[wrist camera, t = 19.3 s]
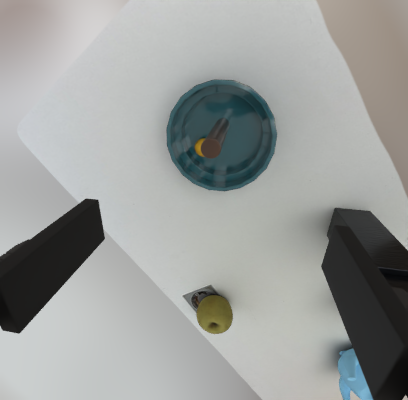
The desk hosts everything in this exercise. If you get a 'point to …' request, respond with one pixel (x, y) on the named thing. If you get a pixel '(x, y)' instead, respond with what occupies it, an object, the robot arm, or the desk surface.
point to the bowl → (235, 139)
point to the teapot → (352, 376)
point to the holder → (376, 244)
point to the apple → (214, 314)
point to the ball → (199, 147)
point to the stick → (215, 139)
